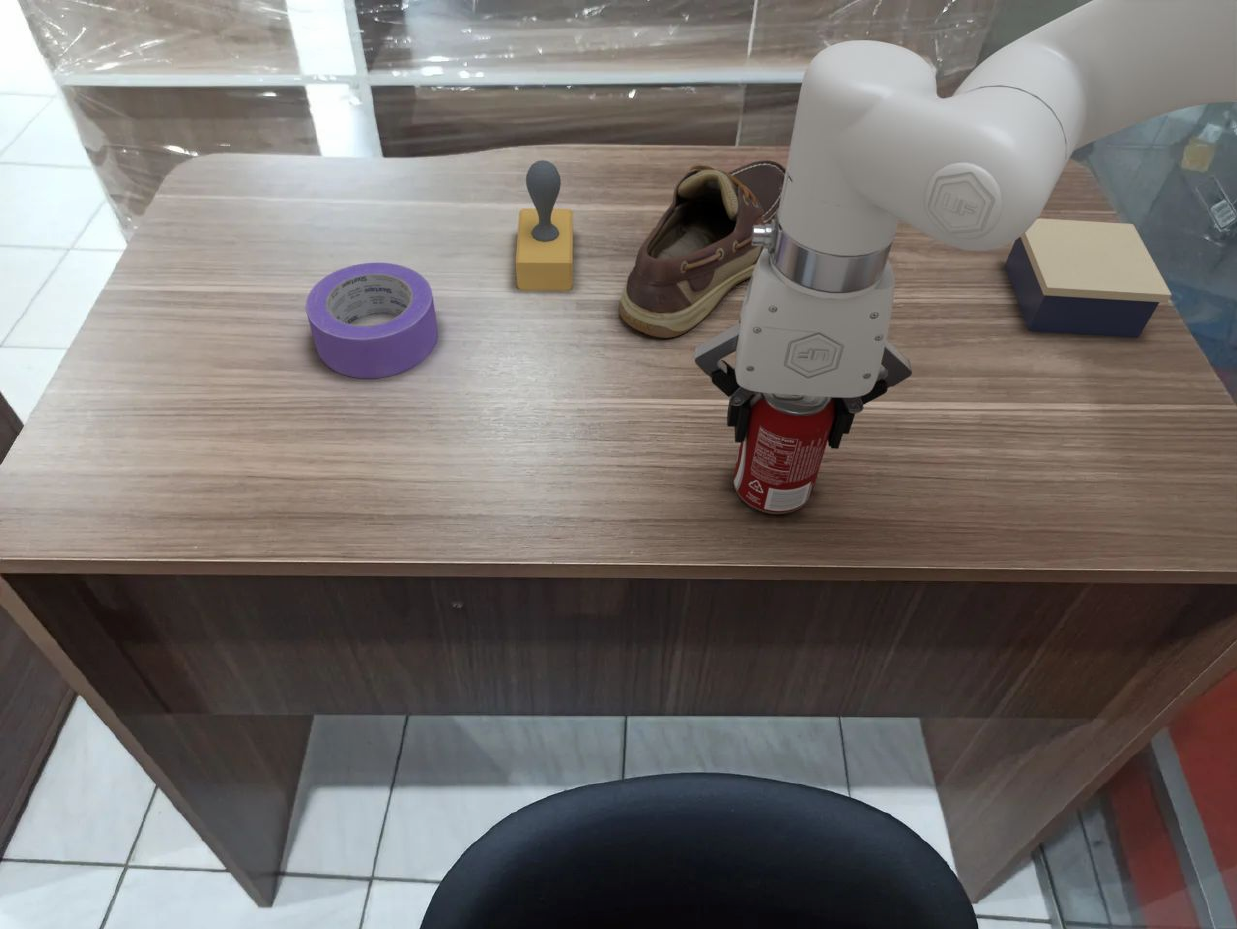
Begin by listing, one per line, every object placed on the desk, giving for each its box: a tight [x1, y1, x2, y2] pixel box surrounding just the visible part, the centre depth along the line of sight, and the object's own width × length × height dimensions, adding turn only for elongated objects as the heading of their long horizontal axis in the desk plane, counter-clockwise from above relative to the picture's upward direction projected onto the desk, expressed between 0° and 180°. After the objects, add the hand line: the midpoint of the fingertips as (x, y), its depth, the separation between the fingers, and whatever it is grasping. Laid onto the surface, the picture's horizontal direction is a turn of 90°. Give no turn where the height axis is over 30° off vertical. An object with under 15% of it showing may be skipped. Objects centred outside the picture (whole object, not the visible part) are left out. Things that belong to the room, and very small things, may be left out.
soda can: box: [733, 392, 836, 515], centre depth 73 cm, size 7×7×12 cm
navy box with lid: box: [1004, 217, 1173, 339], centre depth 94 cm, size 12×12×6 cm
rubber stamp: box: [515, 159, 574, 291], centre depth 93 cm, size 10×6×12 cm, turn 2°
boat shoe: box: [618, 159, 786, 339], centre depth 95 cm, size 30×11×11 cm, turn 144°
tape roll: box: [305, 262, 439, 380], centre depth 87 cm, size 12×12×5 cm
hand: (785, 431), depth 72 cm, fingers closed on soda can, 6 cm apart
